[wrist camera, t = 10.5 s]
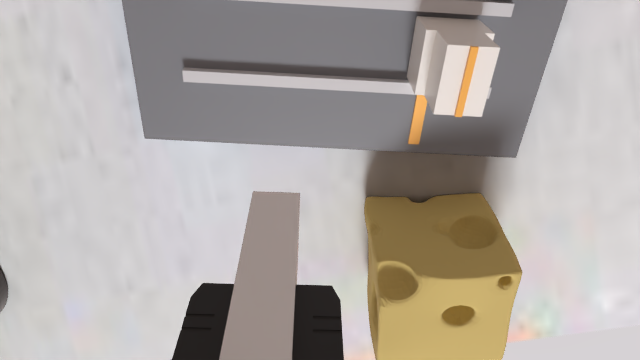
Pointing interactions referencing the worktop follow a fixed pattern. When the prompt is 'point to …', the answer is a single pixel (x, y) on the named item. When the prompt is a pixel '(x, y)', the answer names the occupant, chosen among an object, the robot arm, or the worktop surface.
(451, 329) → the cheese
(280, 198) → the robot arm
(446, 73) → the fader
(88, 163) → the worktop surface
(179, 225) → the worktop surface
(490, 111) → the console
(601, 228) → the worktop surface
